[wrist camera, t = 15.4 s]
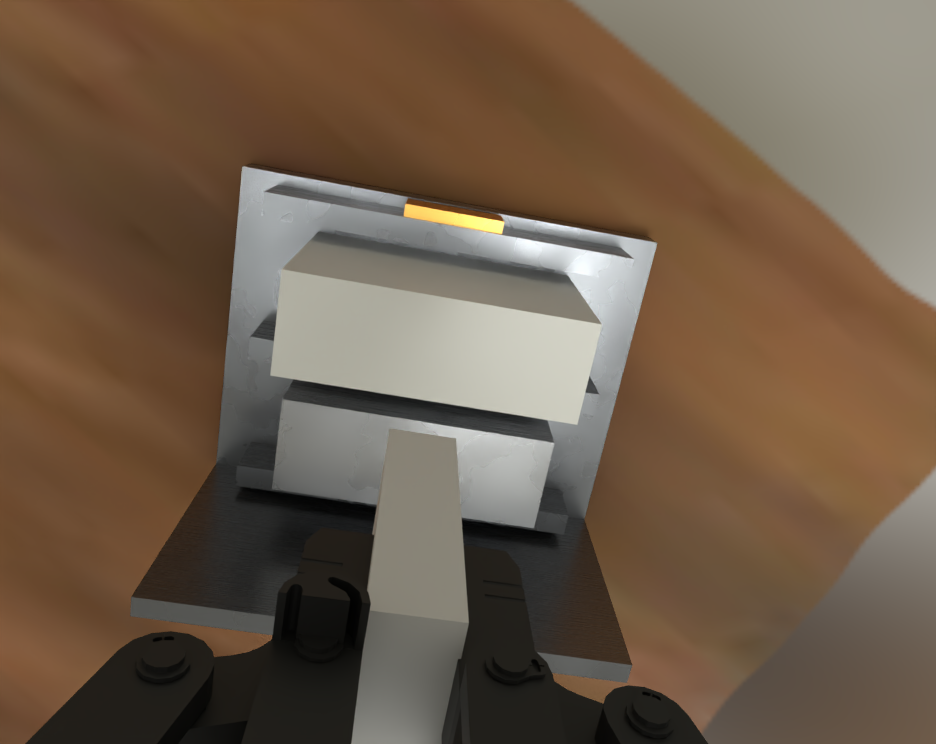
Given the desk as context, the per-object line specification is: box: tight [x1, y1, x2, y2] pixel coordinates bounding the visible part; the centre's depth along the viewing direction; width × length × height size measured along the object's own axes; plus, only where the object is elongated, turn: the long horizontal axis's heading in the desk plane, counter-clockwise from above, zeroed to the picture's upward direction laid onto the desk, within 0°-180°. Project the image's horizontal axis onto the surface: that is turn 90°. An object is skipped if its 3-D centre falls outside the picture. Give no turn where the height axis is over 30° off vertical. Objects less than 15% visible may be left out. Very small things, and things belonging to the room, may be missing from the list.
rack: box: [130, 164, 657, 683], centre depth 31 cm, size 18×15×12 cm
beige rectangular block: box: [270, 231, 602, 425], centre depth 31 cm, size 11×4×8 cm, turn 80°
